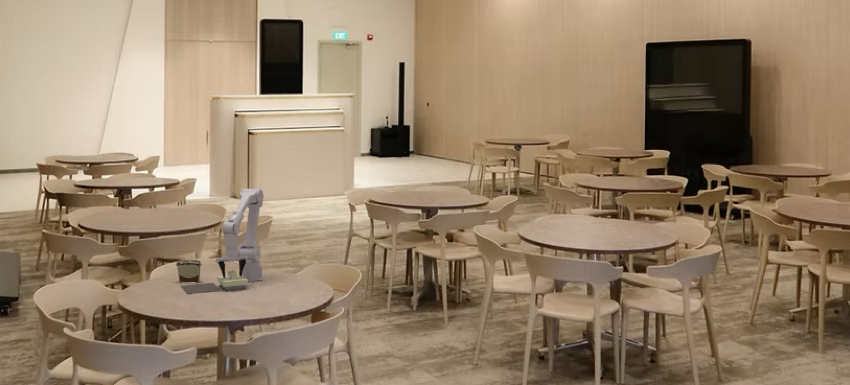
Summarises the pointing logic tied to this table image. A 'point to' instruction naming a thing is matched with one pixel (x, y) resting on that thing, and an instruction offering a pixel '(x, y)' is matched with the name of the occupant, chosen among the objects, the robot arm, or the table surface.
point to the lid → (232, 279)
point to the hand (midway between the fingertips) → (232, 276)
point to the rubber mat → (200, 288)
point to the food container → (189, 270)
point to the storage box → (233, 287)
